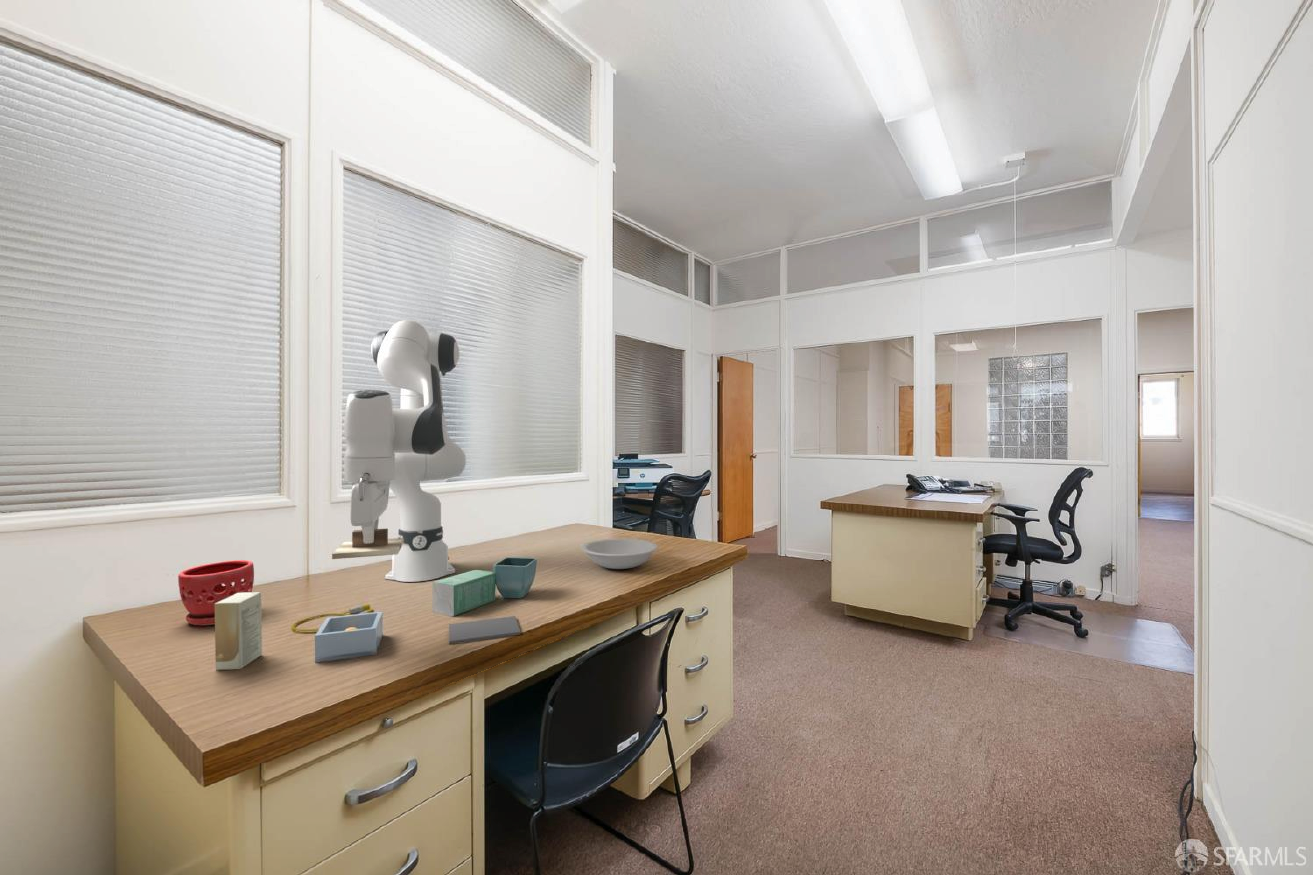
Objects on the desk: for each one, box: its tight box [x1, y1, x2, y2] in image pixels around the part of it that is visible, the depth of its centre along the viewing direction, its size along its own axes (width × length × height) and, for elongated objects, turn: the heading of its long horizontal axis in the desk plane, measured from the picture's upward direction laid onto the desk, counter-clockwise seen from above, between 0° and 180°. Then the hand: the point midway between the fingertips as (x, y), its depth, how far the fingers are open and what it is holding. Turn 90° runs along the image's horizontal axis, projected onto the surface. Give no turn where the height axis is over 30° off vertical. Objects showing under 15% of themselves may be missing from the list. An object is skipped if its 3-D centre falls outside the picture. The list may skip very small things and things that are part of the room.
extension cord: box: [290, 603, 375, 634], centre depth 117 cm, size 12×16×2 cm
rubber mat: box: [448, 615, 522, 645], centre depth 112 cm, size 10×14×1 cm
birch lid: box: [331, 528, 404, 560], centre depth 104 cm, size 11×11×4 cm
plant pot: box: [177, 559, 255, 626], centre depth 118 cm, size 13×13×12 cm
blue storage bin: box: [314, 611, 384, 663], centre depth 103 cm, size 10×10×5 cm
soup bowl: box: [581, 537, 659, 570], centre depth 165 cm, size 24×24×7 cm
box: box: [432, 569, 497, 617], centre depth 127 cm, size 7×14×8 cm, turn 153°
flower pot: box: [493, 556, 538, 599], centre depth 135 cm, size 9×9×9 cm
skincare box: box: [214, 591, 263, 671], centre depth 96 cm, size 6×4×12 cm
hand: (370, 540), depth 104 cm, fingers closed on birch lid, 2 cm apart
